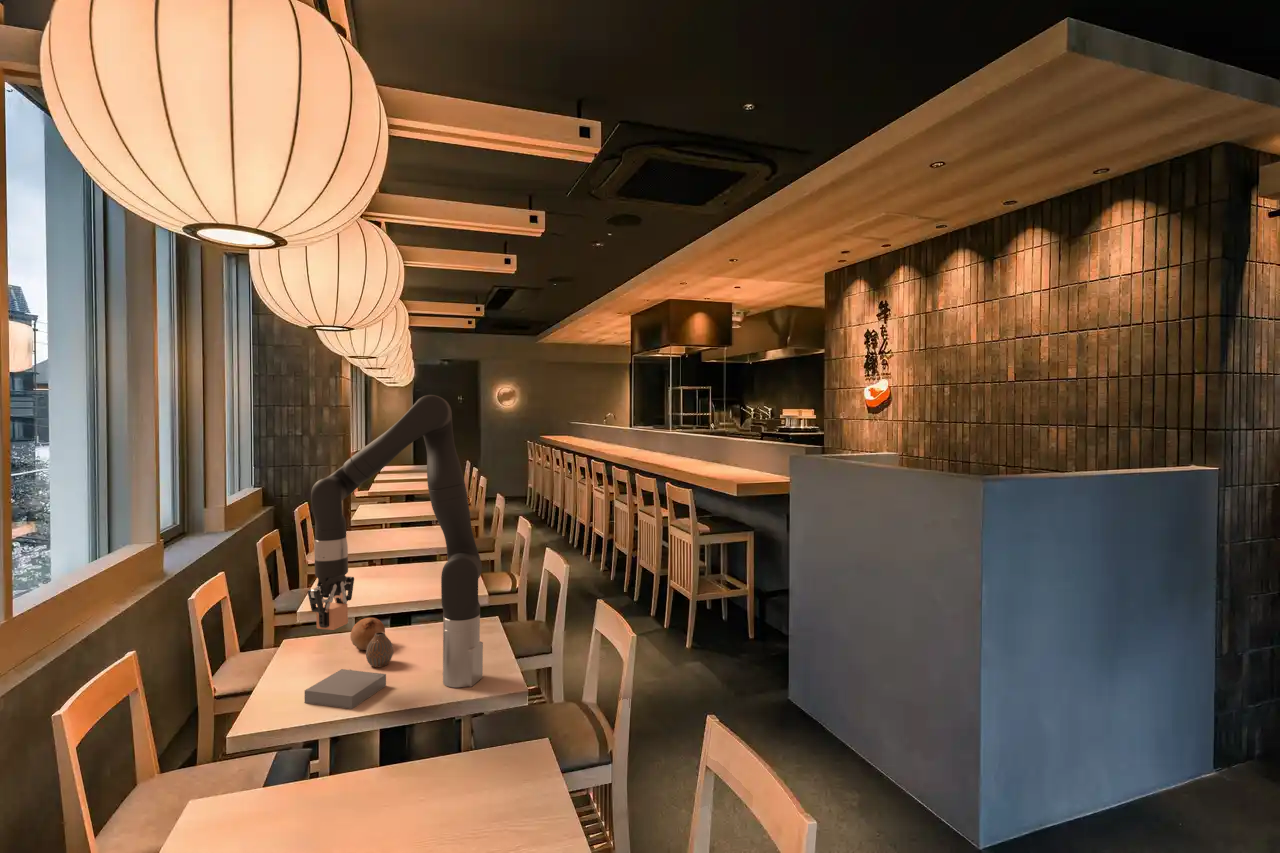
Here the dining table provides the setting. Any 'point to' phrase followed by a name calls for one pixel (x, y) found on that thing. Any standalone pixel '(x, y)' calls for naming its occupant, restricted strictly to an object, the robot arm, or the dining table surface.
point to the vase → (379, 650)
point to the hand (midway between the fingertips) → (332, 623)
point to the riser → (345, 688)
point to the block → (335, 616)
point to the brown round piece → (365, 632)
